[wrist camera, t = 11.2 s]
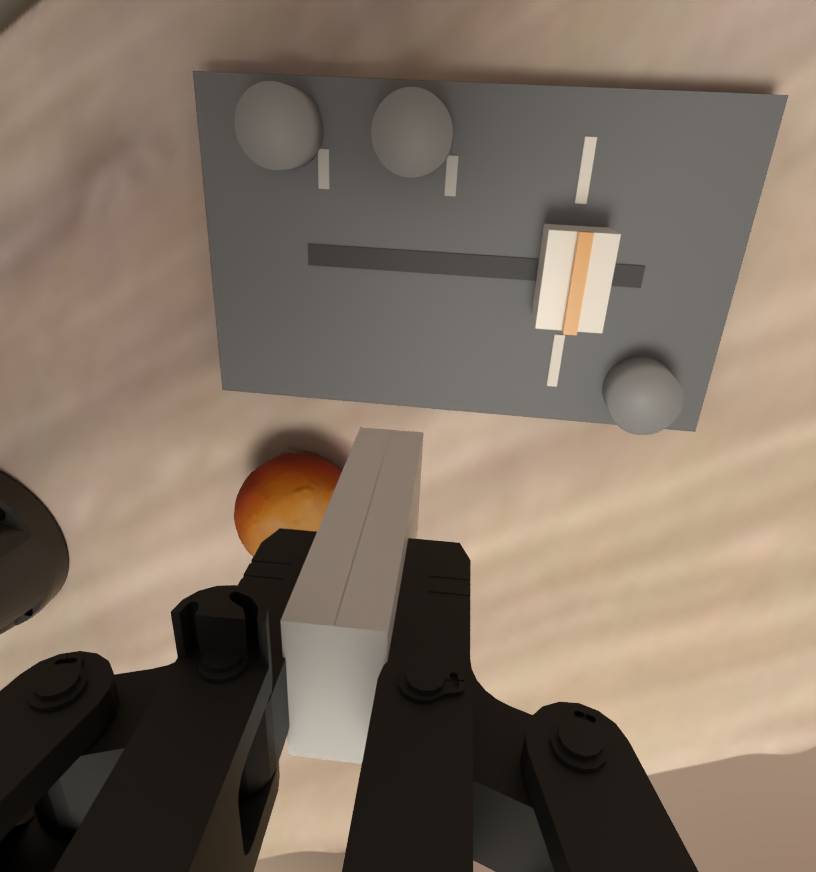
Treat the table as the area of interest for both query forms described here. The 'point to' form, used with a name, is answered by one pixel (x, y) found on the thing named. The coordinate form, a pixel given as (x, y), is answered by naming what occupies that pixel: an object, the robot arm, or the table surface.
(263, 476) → the fruit
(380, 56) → the table surface
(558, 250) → the fader
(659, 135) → the console
